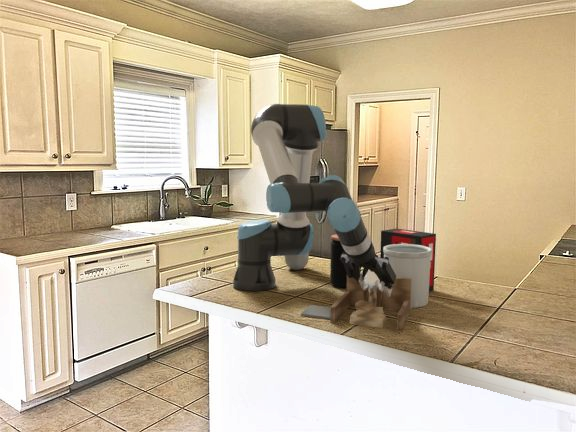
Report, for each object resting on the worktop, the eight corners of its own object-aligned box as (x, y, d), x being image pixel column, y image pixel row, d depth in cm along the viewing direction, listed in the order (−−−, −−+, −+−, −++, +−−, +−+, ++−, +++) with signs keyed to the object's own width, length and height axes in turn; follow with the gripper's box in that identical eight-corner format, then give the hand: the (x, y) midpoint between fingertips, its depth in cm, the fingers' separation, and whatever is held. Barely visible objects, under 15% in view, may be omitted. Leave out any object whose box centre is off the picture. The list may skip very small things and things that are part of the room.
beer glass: (386, 312, 140) (388, 263, 139) (383, 320, 134) (385, 268, 132) (363, 310, 143) (364, 261, 141) (359, 317, 136) (360, 266, 134)
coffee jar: (359, 281, 176) (360, 234, 173) (360, 289, 165) (361, 238, 163) (330, 281, 177) (331, 233, 174) (330, 288, 166) (330, 238, 164)
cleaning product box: (433, 290, 164) (435, 233, 162) (418, 295, 159) (421, 236, 156) (394, 281, 177) (396, 228, 175) (379, 285, 171) (381, 230, 169)
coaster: (300, 315, 137) (300, 313, 137) (310, 306, 146) (310, 304, 146) (330, 319, 134) (330, 317, 134) (338, 310, 142) (338, 308, 142)
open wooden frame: (330, 322, 132) (331, 287, 130) (347, 303, 149) (347, 272, 148) (401, 332, 125) (402, 295, 123) (410, 311, 142) (411, 278, 141)
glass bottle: (283, 266, 200) (283, 200, 197) (307, 266, 201) (307, 200, 198) (285, 272, 190) (285, 203, 187) (310, 271, 191) (311, 202, 188)
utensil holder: (403, 311, 141) (405, 254, 139) (372, 298, 155) (373, 245, 152) (439, 304, 148) (442, 249, 146) (407, 292, 161) (409, 242, 159)
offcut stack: (349, 323, 131) (350, 303, 130) (354, 318, 135) (354, 298, 135) (382, 328, 127) (383, 307, 127) (385, 322, 132) (386, 301, 132)
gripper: (319, 252, 128) (344, 296, 144) (389, 260, 118) (407, 307, 133) (328, 230, 132) (351, 275, 147) (397, 237, 122) (413, 284, 137)
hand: (378, 290), depth 140 cm, fingers closed on beer glass, 7 cm apart
